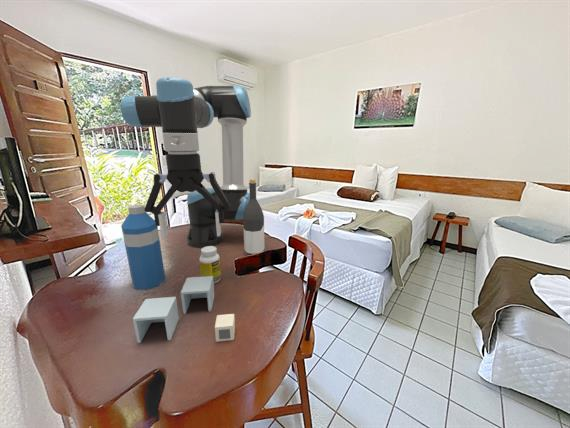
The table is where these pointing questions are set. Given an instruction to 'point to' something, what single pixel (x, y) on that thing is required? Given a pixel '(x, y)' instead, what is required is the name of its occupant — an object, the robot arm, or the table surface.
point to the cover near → (156, 316)
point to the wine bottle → (253, 224)
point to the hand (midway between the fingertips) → (192, 235)
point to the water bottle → (143, 248)
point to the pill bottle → (210, 263)
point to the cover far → (197, 291)
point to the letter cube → (225, 327)
